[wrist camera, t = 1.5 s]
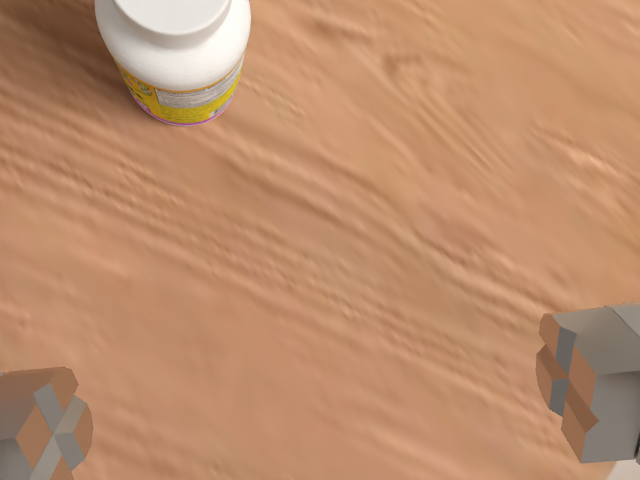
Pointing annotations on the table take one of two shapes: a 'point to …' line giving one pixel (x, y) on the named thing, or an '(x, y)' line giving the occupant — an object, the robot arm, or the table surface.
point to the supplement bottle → (177, 53)
